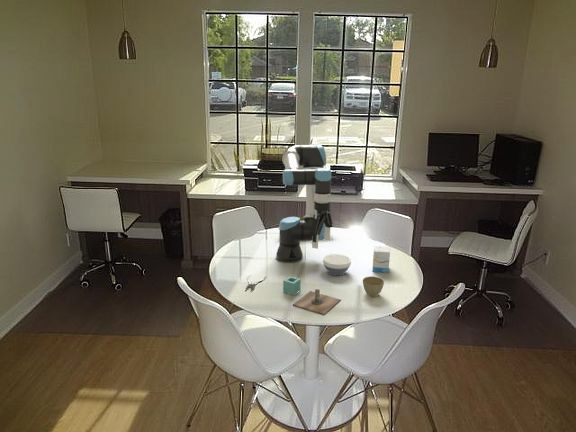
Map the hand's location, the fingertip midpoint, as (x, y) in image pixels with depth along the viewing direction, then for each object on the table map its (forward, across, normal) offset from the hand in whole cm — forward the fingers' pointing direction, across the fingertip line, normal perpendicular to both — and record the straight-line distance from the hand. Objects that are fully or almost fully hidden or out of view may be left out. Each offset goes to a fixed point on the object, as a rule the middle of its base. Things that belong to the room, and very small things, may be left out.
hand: (321, 243), depth 218 cm
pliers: (+22, -15, +28) cm, 39 cm away
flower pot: (+22, +2, -26) cm, 34 cm away
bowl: (+22, +18, -1) cm, 28 cm away
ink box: (+22, +34, -20) cm, 45 cm away
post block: (+22, -19, -7) cm, 29 cm away
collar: (+21, -14, +8) cm, 27 cm away
